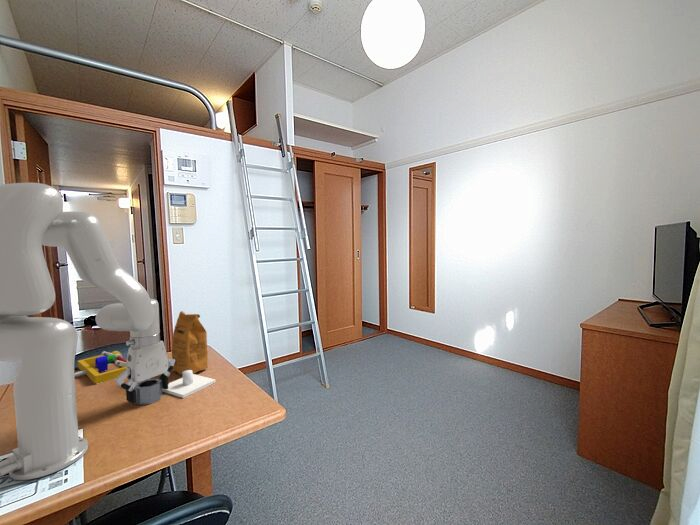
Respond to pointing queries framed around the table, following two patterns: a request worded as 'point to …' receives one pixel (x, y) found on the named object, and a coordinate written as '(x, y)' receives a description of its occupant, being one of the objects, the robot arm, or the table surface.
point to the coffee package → (189, 344)
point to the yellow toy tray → (101, 366)
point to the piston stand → (188, 384)
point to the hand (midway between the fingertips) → (148, 395)
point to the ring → (148, 391)
